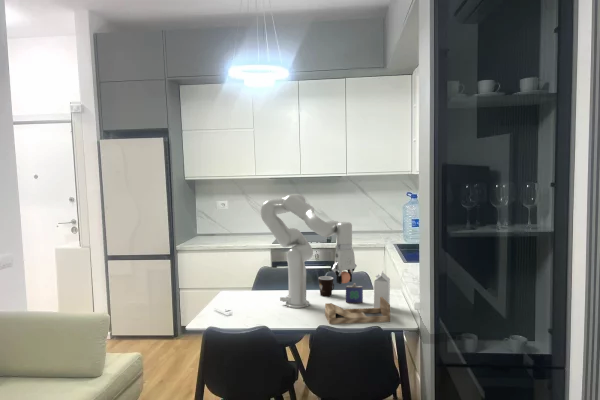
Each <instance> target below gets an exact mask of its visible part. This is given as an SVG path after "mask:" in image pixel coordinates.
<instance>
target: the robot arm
mask: <svg viewBox="0 0 600 400" xmlns="http://www.w3.org/2000/svg"><path fill="white" fill-rule="evenodd" d="M260 207H261V208H260V217H261V219H262V221H263V223H264V225H266V226H267V228H268V229H269V231H270V232H271V234H272V236H274V239H276V241H277V243H278V244H279V245H280V246H281V247H282V248H289V247H290V248H289V249H288V251H287V253H286V261H287V274H288V295H287V296H285V297H282V296H281V297H279V302H284V303H285V306H287V307H289V308H292V309H302V308H306V307H309V305H310V301H309V300H307V268H306V267H307V266H306V265H305V262H307V261H309V260H311V258H313V256H314V250H313V247H312V246H311V245H312V244H310V242H309V241H308V240H307V239H306V237H305V236H304V235H303V233H302V232H301V230H299V229H298V228H295V227H290V228H289V227H287V225H286V224H285V222H284V220H283V219H281V218H280V217H279V216H278V215H281V214H287V213H290V212H291V213H292V214H293V215H294V216H295V215H296V216H297V218H300V219H301V220H303V222H304V223H305V225H307V227H308V228H309V230H311V231H312V232H314V233H315V234H317V235H318V236H321V237H323V238H329V237H332V236H336V245H335V249H336V250H335V253H334V264H333V266H332V267H331V271H332V272H333V274H335V276H336V283H337V284H339V285H341V284H343V283H342V276H340V275H341V272H342V271H346V272H348V273H349V274H350V280H349V282H348V283H352V282H353V274H354V271H355V270H356V268H357V264H356V258H355V251H354V248H353V224H352V223H351V222H349V221H338V220H328V221H324V220H323V219H322V218H320V217H318V216H317V215H316V214H315V208H314V207H313V206H312V205H311V204H309V203H307V202H306V198H305V197H304V195H302V194H299V193H293V194H291V193H290V194H288V195H286V196H285V197H281V198H271V199H268V200H266V201H265V202H263V203H262V205H261V206H260Z"/></svg>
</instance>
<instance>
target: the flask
mask: <svg viewBox="0 0 600 400" xmlns="http://www.w3.org/2000/svg"><path fill="white" fill-rule="evenodd" d="M356 284H357V283H356V282H354V283H353V284H352V285H351V284H349V285H346V286H345V303H346V304H363V303H364V299H363V297H364V294H363V291H364V289H363V288H364V286H362V285H356Z"/></svg>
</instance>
